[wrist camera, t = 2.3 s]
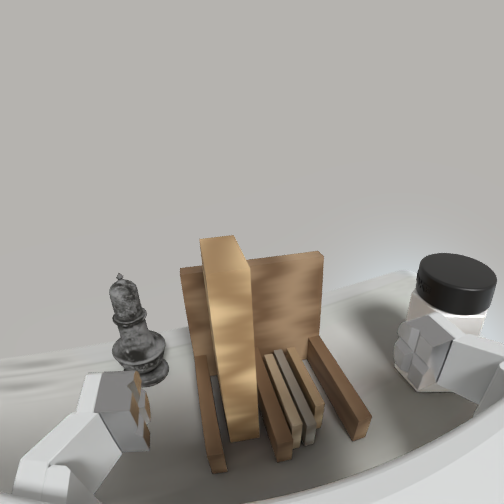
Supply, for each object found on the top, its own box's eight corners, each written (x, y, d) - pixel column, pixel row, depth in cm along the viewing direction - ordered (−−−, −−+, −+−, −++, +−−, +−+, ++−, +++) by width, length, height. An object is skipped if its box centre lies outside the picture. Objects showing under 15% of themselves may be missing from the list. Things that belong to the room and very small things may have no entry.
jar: (413, 336, 35) (432, 245, 30) (470, 357, 29) (500, 264, 25) (383, 378, 29) (405, 274, 25) (450, 406, 24) (492, 301, 19)
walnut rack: (212, 473, 20) (183, 368, 16) (197, 369, 33) (180, 268, 28) (364, 437, 23) (397, 326, 18) (312, 349, 35) (317, 250, 30)
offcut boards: (290, 449, 22) (292, 426, 21) (262, 374, 32) (261, 348, 30) (326, 439, 23) (331, 415, 22) (292, 368, 32) (293, 343, 31)
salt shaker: (153, 348, 36) (131, 255, 32) (182, 371, 32) (161, 270, 28) (112, 369, 32) (81, 275, 28) (138, 397, 28) (103, 294, 24)
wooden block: (230, 442, 24) (205, 273, 18) (220, 395, 29) (199, 239, 23) (259, 437, 24) (250, 268, 18) (245, 391, 29) (233, 235, 24)
